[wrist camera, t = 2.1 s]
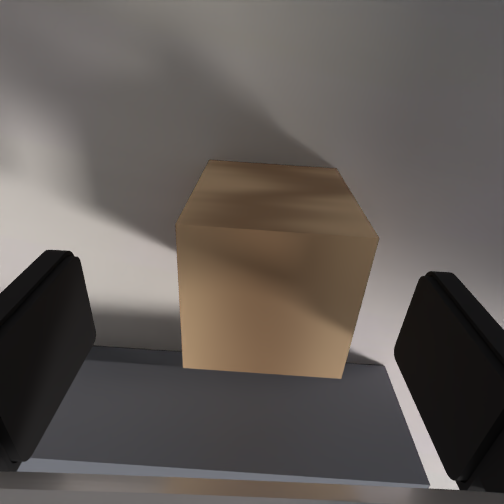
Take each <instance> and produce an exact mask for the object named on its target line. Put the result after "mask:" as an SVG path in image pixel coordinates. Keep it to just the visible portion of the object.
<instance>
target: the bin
mask: <svg viewBox="0 0 504 504" xmlns="http://www.w3.org/2000/svg"><path fill="white" fill-rule="evenodd" d="M17 472H50V473H77V474H104V475H130V476H157V477H183V478H207V479H230V480H254V481H277V482H300V483H323V484H344V485H365V486H386V487H406V488H427V489H428V488H429V486H430V483H429V481H428V478H427V475H426V473H425V470H424V468H423V465H422V462H421V460H420V457H419V454H418V452H417V449H416V447H415V444H414V441H413V439H412V436H411V434H410V431H409V428H408V426H407V423H406V420H405V418H404V415H403V413H402V410H401V407H400V405H399V402H398V399H397V397H396V394H395V392H394V389H393V386H392V384H391V381H390V379H389V376H388V373H387V371H386V368H385V366H380V365H365V364H350V363H345V367H344V371H343V374H342V378H341V379H337V378H322V377H308V376H293V375H279V374H264V373H250V372H235V371H221V370H206V369H191V368H183V357H182V352H174V351H160V350H145V349H130V348H116V347H101V346H92V348H91V350H90V352H89V353H88V355H87V357H86V359H85V361H84V362H83V364H82V366H81V368H80V370H79V371H78V373H77V375H76V377H75V379H74V381H73V382H72V384H71V386H70V388H69V390H68V391H67V393H66V395H65V397H64V399H63V400H62V402H61V404H60V406H59V408H58V409H57V411H56V413H55V415H54V417H53V418H52V420H51V422H50V424H49V426H48V428H47V429H46V431H45V433H44V435H43V437H42V438H41V440H40V442H39V444H38V446H37V447H36V449H35V451H34V453H33V454H32V456H31V458H30V459H29V460H28V461H26V462H22V463H21V465H20V466H19V468H18V470H17Z"/></svg>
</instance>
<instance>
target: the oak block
mask: <svg viewBox="0 0 504 504" xmlns="http://www.w3.org/2000/svg"><path fill="white" fill-rule="evenodd" d="M175 228H176V246H177V265H178V283H179V302H180V320H181V339H182V357H183V368H191V369H206V370H221V371H235V372H250V373H264V374H279V375H293V376H308V377H322V378H337V379H341V378H342V374H343V371H344V367H345V363H346V359H347V356H348V352H349V348H350V345H351V341H352V337H353V334H354V330H355V326H356V322H357V319H358V315H359V311H360V308H361V304H362V300H363V297H364V293H365V289H366V286H367V282H368V278H369V274H370V271H371V267H372V263H373V260H374V256H375V252H376V249H377V245H378V241H379V237H378V235H377V234H376V232H375V230H374V229H373V227H372V226H371V224H370V222H369V221H368V219H367V217H366V216H365V214H364V213H363V211H362V209H361V208H360V206H359V204H358V203H357V201H356V200H355V198H354V196H353V195H352V193H351V191H350V190H349V188H348V187H347V185H346V183H345V182H344V180H343V178H342V177H341V175H340V174H339V172H338V170H337V169H335V168H321V167H306V166H291V165H277V164H262V163H247V162H233V161H218V160H209V162H208V163H207V165H206V167H205V169H204V171H203V173H202V175H201V177H200V179H199V180H198V182H197V184H196V186H195V188H194V190H193V192H192V194H191V196H190V197H189V199H188V201H187V203H186V205H185V207H184V209H183V211H182V213H181V214H180V216H179V218H178V220H177V222H176V224H175Z"/></svg>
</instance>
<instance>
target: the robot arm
mask: <svg viewBox="0 0 504 504" xmlns="http://www.w3.org/2000/svg"><path fill="white" fill-rule="evenodd" d="M95 337H96V331H95V326H94V321H93V317H92V312H91V307H90V303H89V298H88V294H87V289H86V284H85V280H84V275H83V271H82V266H81V262H80V259H79V258H78V257H74V255H73V253H72V252H71V251H61V250H46V251H45V252H43V253H42V254H41V255H40V256H39V257H38V258H37V259H36V260H35V261H34V262H33V263H32V264H31V265H30V266H29V267H28V268H27V269H26V270H24V271H23V272H22V273H21V274H20V275H19V276H18V277H17V278H16V279H15V280H14V281H13V282H12V283H11V284H10V285H9V286H8V287H7V288H6V289H4V290H3V291H2V292H1V293H0V504H504V330H503V329H502V327H501V326H500V325H499V324H498V323H497V322H496V321H495V320H494V318H493V317H492V316H491V315H490V314H489V313H488V312H487V311H486V309H485V308H484V307H483V306H482V305H481V304H480V303H479V302H478V300H477V299H476V298H475V297H474V296H473V295H472V294H471V292H470V291H469V290H468V289H467V288H466V287H465V286H464V285H463V283H462V282H461V281H460V280H459V279H458V278H457V277H456V276H455V275H454V274H453V273H450V272H433V271H430V272H428V273H427V274H426V275H425V276H422V277H421V278H420V279H419V281H418V283H417V286H416V289H415V292H414V294H413V297H412V300H411V303H410V305H409V308H408V311H407V314H406V317H405V319H404V322H403V325H402V328H401V330H400V333H399V336H398V339H397V341H396V344H395V347H394V356H395V360H396V362H397V364H398V367H399V369H400V371H401V373H402V375H403V378H404V380H405V382H406V384H407V387H408V389H409V391H410V393H411V395H412V398H413V400H414V402H415V404H416V406H417V409H418V411H419V413H420V415H421V418H422V420H423V422H424V424H425V426H426V429H427V431H428V433H429V435H430V438H431V440H432V442H433V444H434V446H435V449H436V451H437V453H438V455H439V457H440V460H441V462H442V464H443V466H444V469H445V471H446V473H447V475H448V476H449V477H450V479H452V480H455V481H456V483H457V485H458V487H459V489H460V490H448V489H427V488H406V487H386V486H365V485H344V484H323V483H300V482H277V481H254V480H230V479H207V478H183V477H157V476H130V475H104V474H77V473H50V472H17V470H18V468H19V466H20V465H21V463H22V462H26V461H28V460H29V459H30V458H31V456H32V454H33V453H34V451H35V449H36V447H37V446H38V444H39V442H40V440H41V438H42V437H43V435H44V433H45V431H46V429H47V428H48V426H49V424H50V422H51V420H52V418H53V417H54V415H55V413H56V411H57V409H58V408H59V406H60V404H61V402H62V400H63V399H64V397H65V395H66V393H67V391H68V390H69V388H70V386H71V384H72V382H73V381H74V379H75V377H76V375H77V373H78V371H79V370H80V368H81V366H82V364H83V362H84V361H85V359H86V357H87V355H88V353H89V352H90V350H91V348H92V346H93V344H94V342H95Z"/></svg>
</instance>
